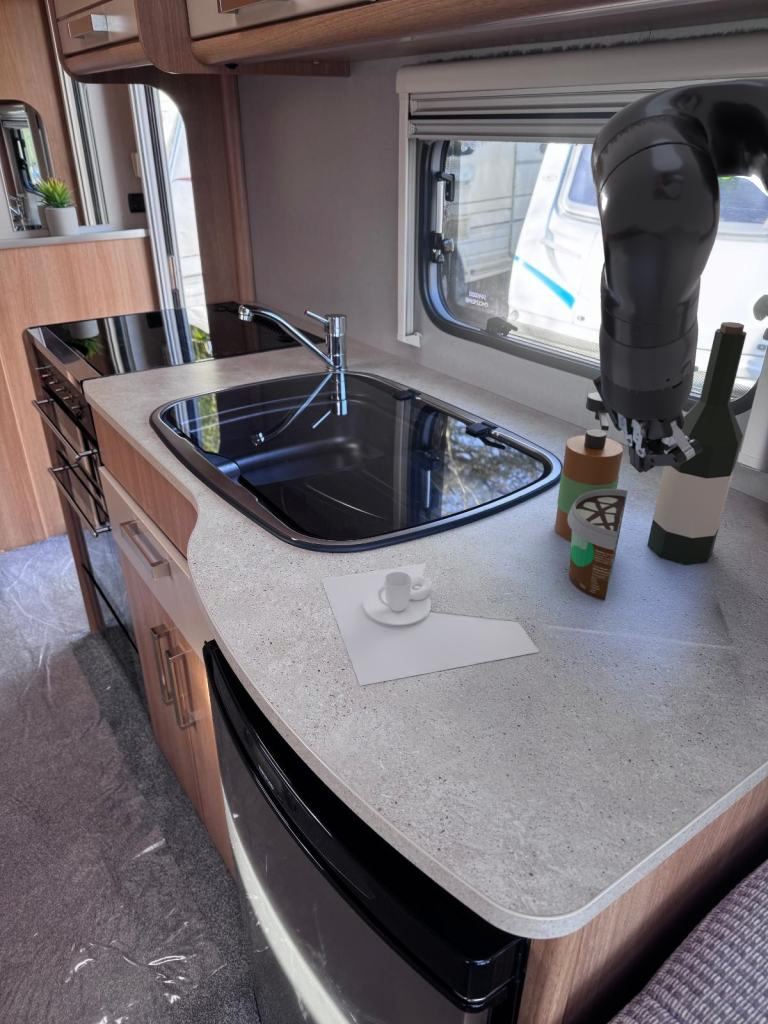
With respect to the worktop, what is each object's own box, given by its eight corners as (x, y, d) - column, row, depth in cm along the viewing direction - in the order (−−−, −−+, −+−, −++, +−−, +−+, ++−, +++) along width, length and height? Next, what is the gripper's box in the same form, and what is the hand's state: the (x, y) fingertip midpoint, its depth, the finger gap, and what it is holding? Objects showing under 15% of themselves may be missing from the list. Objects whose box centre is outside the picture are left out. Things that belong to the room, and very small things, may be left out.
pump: (611, 414, 94) (615, 392, 93) (618, 442, 86) (622, 419, 84) (583, 412, 95) (586, 390, 93) (587, 440, 86) (591, 416, 85)
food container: (568, 547, 97) (578, 480, 92) (615, 556, 95) (628, 488, 90) (550, 596, 87) (561, 523, 82) (603, 608, 85) (617, 534, 80)
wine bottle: (705, 536, 100) (761, 317, 85) (719, 569, 92) (782, 336, 78) (643, 530, 101) (687, 314, 87) (651, 562, 94) (701, 332, 79)
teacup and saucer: (425, 582, 89) (426, 554, 87) (447, 620, 83) (448, 591, 81) (356, 593, 87) (355, 565, 85) (373, 633, 80) (373, 603, 78)
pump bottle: (606, 521, 103) (623, 424, 96) (610, 547, 97) (629, 446, 90) (553, 516, 104) (566, 420, 97) (554, 542, 98) (568, 441, 91)
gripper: (561, 331, 63) (573, 442, 78) (662, 427, 56) (655, 529, 70) (633, 286, 63) (632, 405, 78) (743, 375, 56) (719, 488, 71)
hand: (643, 464), depth 74 cm, fingers closed
